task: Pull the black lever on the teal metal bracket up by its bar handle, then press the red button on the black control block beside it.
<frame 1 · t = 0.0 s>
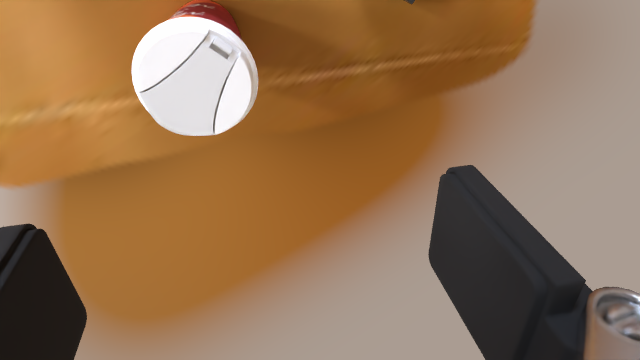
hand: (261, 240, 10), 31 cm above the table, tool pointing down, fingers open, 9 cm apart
paper cup: (205, 32, 37), on the table
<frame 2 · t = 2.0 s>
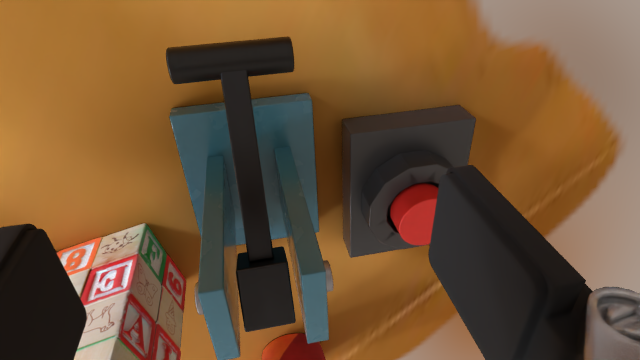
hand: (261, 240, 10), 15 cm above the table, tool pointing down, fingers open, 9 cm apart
stack of blocks: (25, 299, 29), on the table
button: (421, 214, 26), point 4 cm above the table, slide at 0.1 cm
control block: (396, 176, 29), on the table
lever: (250, 186, 18), point 8 cm above the table, hinge at -25.0°
paper cup: (291, 351, 38), on the table
bracket: (252, 171, 27), on the table
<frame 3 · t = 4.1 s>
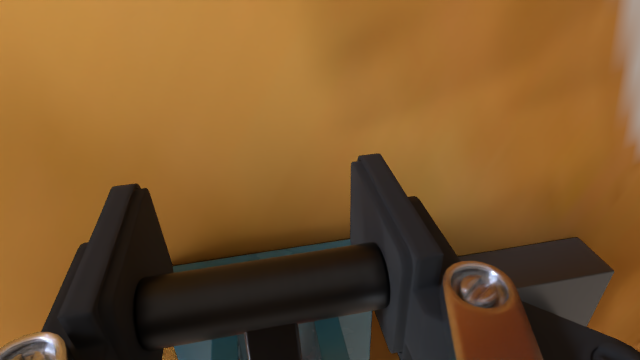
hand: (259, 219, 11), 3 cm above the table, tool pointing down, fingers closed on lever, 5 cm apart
control block: (476, 322, 21), on the table
bracket: (277, 333, 18), on the table
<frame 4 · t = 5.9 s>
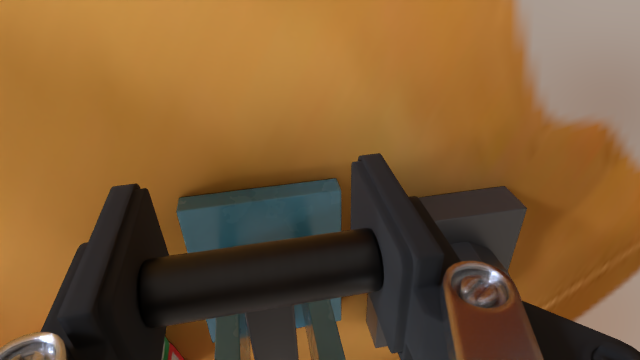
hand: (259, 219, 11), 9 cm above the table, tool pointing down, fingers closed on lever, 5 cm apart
control block: (429, 258, 26), on the table
bracket: (268, 259, 24), on the table
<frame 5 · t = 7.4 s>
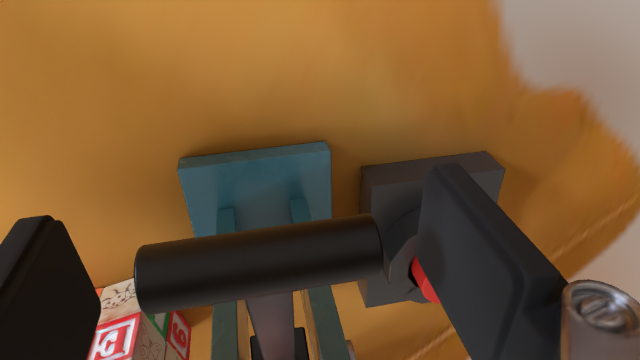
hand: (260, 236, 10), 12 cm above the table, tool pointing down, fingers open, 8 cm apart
stack of blocks: (20, 349, 27), on the table
button: (446, 270, 24), point 4 cm above the table, slide at 0.1 cm
control block: (416, 222, 28), on the table
lever: (276, 336, 13), point 12 cm above the table, hinge at 19.7°
bracket: (264, 220, 25), on the table
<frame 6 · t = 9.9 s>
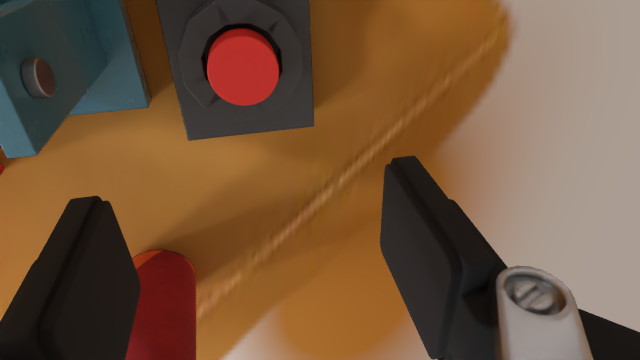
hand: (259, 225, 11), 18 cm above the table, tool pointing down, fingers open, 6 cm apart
button: (243, 67, 22), point 4 cm above the table, slide at 0.1 cm
control block: (240, 44, 25), on the table
paper cup: (161, 274, 34), on the table
bracket: (53, 23, 23), on the table
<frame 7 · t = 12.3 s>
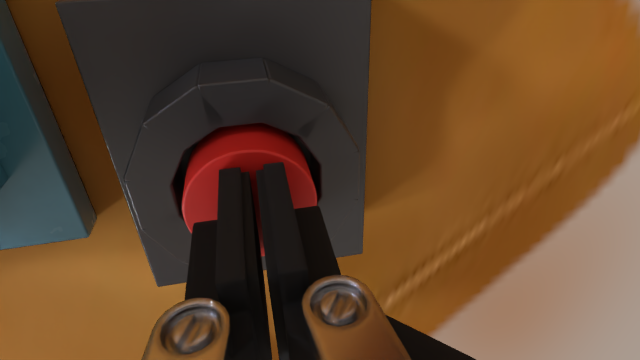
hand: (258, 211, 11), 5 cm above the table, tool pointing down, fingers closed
button: (250, 191, 12), point 4 cm above the table, slide at -0.4 cm, touching gripper
control block: (244, 129, 15), on the table
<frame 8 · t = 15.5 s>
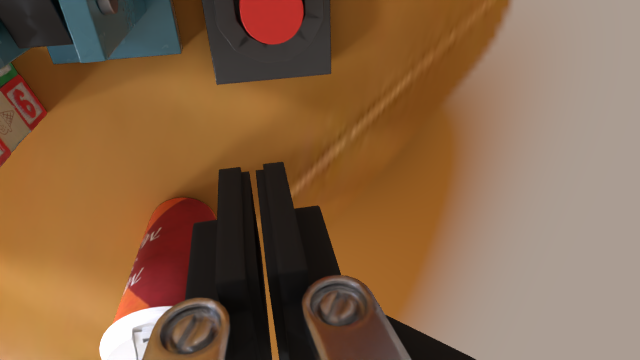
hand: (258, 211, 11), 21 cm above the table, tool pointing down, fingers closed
button: (271, 9, 24), point 4 cm above the table, slide at 0.1 cm
paper cup: (184, 222, 36), on the table
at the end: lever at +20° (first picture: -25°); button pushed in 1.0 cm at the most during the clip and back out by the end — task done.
